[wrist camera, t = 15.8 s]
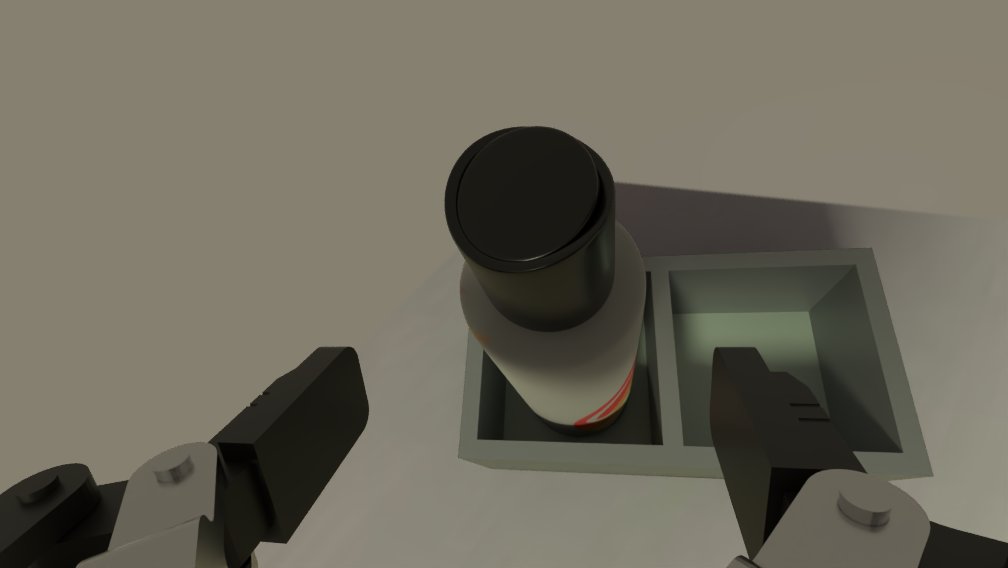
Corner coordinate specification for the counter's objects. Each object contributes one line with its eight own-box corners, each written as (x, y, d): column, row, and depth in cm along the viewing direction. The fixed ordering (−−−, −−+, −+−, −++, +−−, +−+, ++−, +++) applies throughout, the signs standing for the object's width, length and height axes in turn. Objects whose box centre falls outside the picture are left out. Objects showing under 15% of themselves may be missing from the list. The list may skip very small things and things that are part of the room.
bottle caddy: (814, 304, 29) (871, 247, 23) (852, 484, 25) (933, 476, 19) (500, 310, 32) (474, 263, 26) (491, 468, 29) (458, 457, 22)
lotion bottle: (651, 387, 28) (726, 165, 10) (579, 461, 27) (515, 369, 9) (577, 319, 30) (528, 42, 12) (508, 386, 29) (347, 193, 11)
